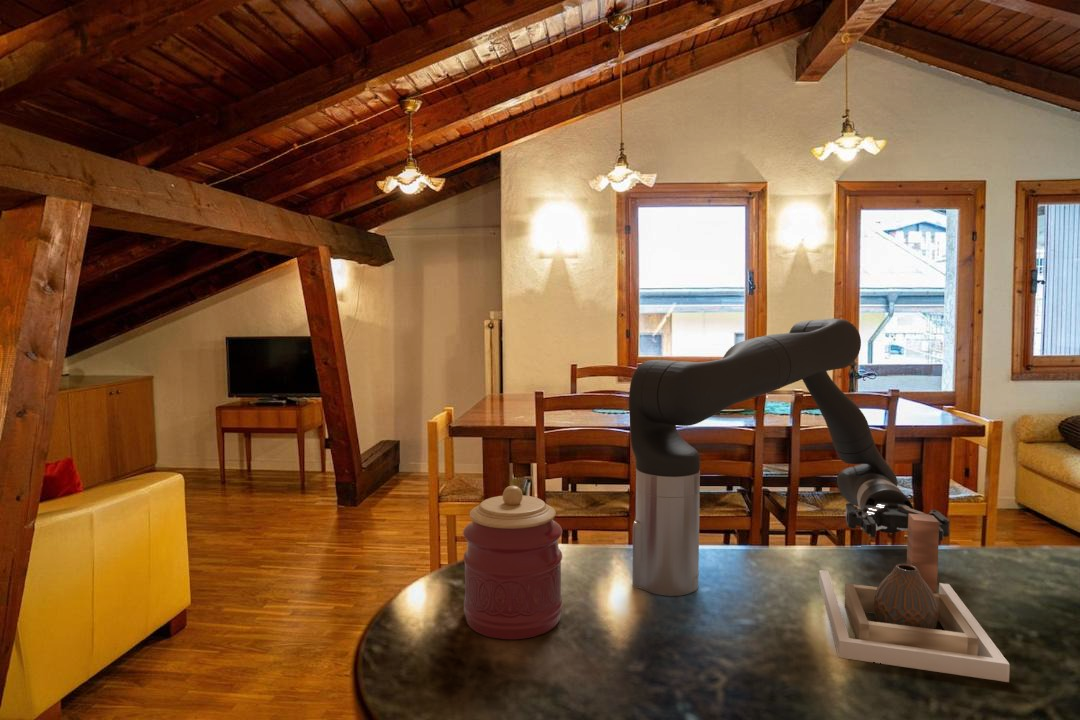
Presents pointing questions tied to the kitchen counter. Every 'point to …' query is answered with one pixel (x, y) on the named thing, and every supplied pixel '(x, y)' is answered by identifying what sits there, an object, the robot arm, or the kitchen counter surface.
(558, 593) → the canister
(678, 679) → the kitchen counter surface
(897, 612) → the vase
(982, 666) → the rail lane
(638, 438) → the robot arm
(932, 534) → the square wooden tray
